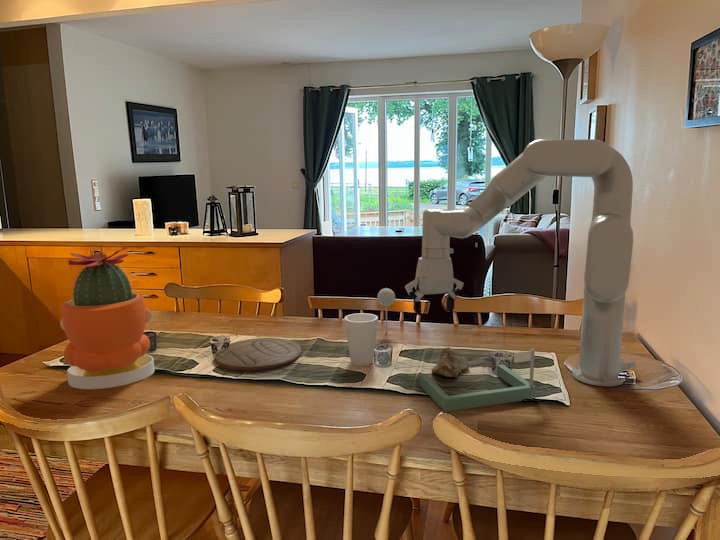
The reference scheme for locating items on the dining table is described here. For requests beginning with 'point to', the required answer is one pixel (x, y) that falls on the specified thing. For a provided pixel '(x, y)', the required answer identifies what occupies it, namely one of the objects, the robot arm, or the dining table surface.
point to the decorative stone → (450, 363)
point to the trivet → (258, 354)
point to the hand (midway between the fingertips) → (433, 312)
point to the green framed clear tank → (490, 397)
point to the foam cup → (361, 337)
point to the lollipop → (386, 299)
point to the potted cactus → (105, 327)
